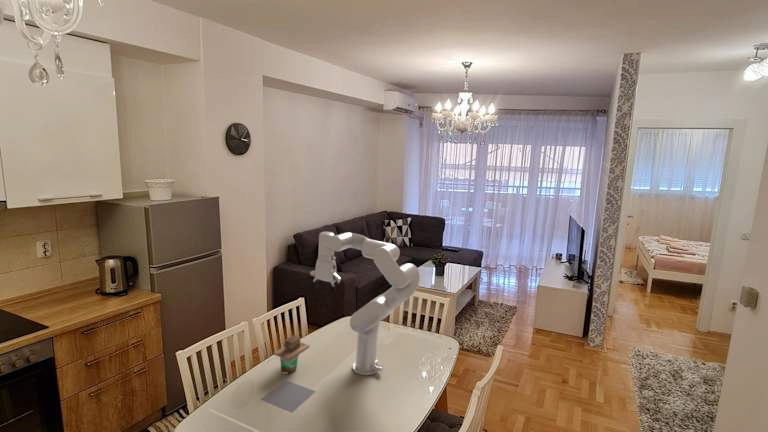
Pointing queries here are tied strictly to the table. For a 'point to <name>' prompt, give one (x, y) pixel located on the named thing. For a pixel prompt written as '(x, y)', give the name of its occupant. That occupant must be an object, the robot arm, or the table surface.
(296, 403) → the rubber mat
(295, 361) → the food container
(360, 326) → the robot arm
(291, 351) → the walnut lid
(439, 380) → the table surface
